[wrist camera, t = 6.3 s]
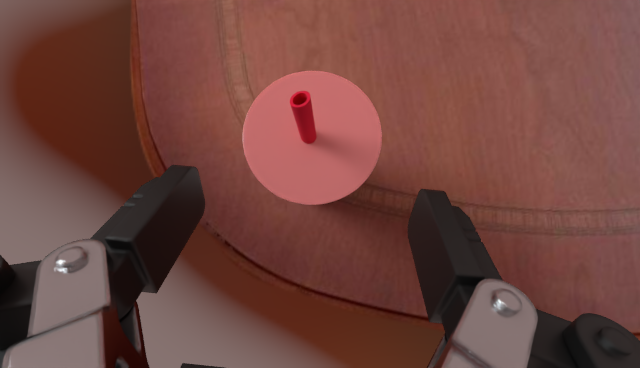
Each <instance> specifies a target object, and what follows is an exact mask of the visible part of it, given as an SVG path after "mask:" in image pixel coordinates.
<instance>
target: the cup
mask: <svg viewBox="0 0 640 368" xmlns="http://www.w3.org/2000/svg"><path fill="white" fill-rule="evenodd" d="M381 144H382V131H381V124H380V120H379V117H378V114H377V112H376V110H375V108H374V106H373V104H372V102H371V101H370V100H369V98H368V97H367V96H366V94H365V93H364V92H363V91H362V90H361V89H360V88H358V87H357V86H356V85H355V84H353V83H352V82H350V81H349V80H347V79H345V78H343V77H341V76H338V75H335V74H332V73H328V72H323V71H303V72H297V73H293V74H290V75H287V76H284V77H282V78H280V79H278V80H276V81H275V82H273V83H272V84H270V85H269V86H268V87H267V88H265V89H264V90H263V91H262V92H261V93H260V94H259V96H258V97H257V98H256V99H255V101H254V102H253V104H252V106H251V107H250V109H249V111H248V114H247V116H246V120H245V123H244V129H243V147H244V153H245V156H246V159H247V162H248V164H249V167H250V169H251V170H252V172H253V174H254V175H255V176H256V178H257V179H258V180H259V181H260V183H261V184H262V185H263V186H265V187H266V188H267V189H268V190H269V191H271V192H272V193H274V194H275V195H277V196H279V197H281V198H283V199H285V200H288V201H291V202H294V203H299V204H307V205H317V204H325V203H330V202H333V201H336V200H339V199H341V198H343V197H345V196H347V195H349V194H351V193H352V192H354V191H355V190H356V189H357V188H359V187H360V186H361V185H362V184H363V183H364V182H365V181H366V180H367V178H368V177H369V176H370V174H371V173H372V171H373V169H374V167H375V165H376V163H377V161H378V158H379V155H380V151H381Z"/></svg>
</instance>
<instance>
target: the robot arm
mask: <svg viewBox="0 0 640 368" xmlns="http://www.w3.org/2000/svg"><path fill="white" fill-rule="evenodd" d="M204 209H205V199H204V194H203V190H202V186H201V181H200V177H199V172H198V170H197V168H196V167H192V166H181V165H172V166H170V167H169V168H168V169H167V170H166V172H165V173H164V174H163V175H162V176H161V177H156V178H154V179H152V180H151V181H149V182H147V183H145V184H144V185H142V186H141V187H140V188H139V189H138V190H137V192H135V193H134V194H133V196H132V198H130V199H128V201H127V202H126V203H125V204H124V206H122V207H121V208H120V209H119V210H118V211H117V212H116V213H115V214H114V215H113V216H112V217H111V218H110V219H109V220H108V221H107V222H106V223H105V224H104V225H103V226H102V227H101V228H100V229H99V230H98V231H97V232H96V233H95V234H94V235H93V237H92V238H91V239H83V240H77V241H73V242H71V243H68V244H65V245H63V246H61V247H59V248H57V249H56V250H54V251H53V252H51V253H50V254H49V255H47V256H46V257H45V258H44V259H43V260H41V261H34V262H27V263H21V264H14V265H9V264H8V263H7V262H6V261H5V260H4V258H2V256H1V255H0V368H149V365H148V362H147V358H146V353H145V346H144V340H143V334H142V328H141V322H140V315H139V309H138V304H137V302H136V300H137V298H138V296H139V295H140V293H141V292H149V293H157V292H158V290H159V288H160V287H161V285H162V283H163V282H164V280H165V278H166V277H167V275H168V273H169V271H170V270H171V268H172V266H173V265H174V263H175V261H176V260H177V258H178V256H179V255H180V253H181V251H182V250H183V248H184V246H185V244H186V243H187V241H188V239H189V238H190V236H191V234H192V233H193V230H194V229H195V228H196V226H197V224H198V223H199V221H200V219H201V218H202V216H203V213H204ZM475 230H476V229H475V227H474V225H473V223H472V221H471V220H470V218H469V217H468V216H467V215H466V214H465V213H464V212H463V211H462V210H461V209H460V208H459V207H456V206H452V205H451V203H450V201H449V199H448V197H447V195H446V193H445V192H444V191H438V190H428V189H421V190H420V191H419V193H418V196H417V199H416V202H415V204H414V207H413V210H412V213H411V216H410V219H409V222H408V239H409V243H410V247H411V251H412V255H413V259H414V263H415V267H416V271H417V275H418V279H419V283H420V287H421V291H422V294H423V298H424V302H425V306H426V310H427V314H428V318H429V322H434V323H443V326H444V330H445V334H444V335H443V337H442V339H441V341H440V343H439V345H438V347H437V349H436V351H435V353H434V354H433V357H432V358H431V360H430V362H429V365H428V366H427V368H640V341H639V340H638V339H637V338H636V337H635V336H634V335H633V334H632V333H631V332H629V331H628V330H627V329H625V328H624V327H622V326H621V325H619V324H618V323H616V322H614V321H612V320H610V319H608V318H606V317H603V316H601V315H597V314H591V313H586V314H582V315H580V316H579V317H578V318H577V319H575V320H574V321H573V322H570V321H567V320H565V319H562V318H559V317H557V316H554V315H551V314H548V313H546V312H543V311H540V310H538V309H535V307H534V305H533V304H532V302H531V301H530V300H529V298H528V297H527V296H526V295H525V294H524V293H523V292H521V291H520V290H519V289H518V288H516V287H514V286H513V285H511V284H509V283H507V282H504V281H503V280H502V278H501V276H500V275H499V273H498V271H497V269H496V267H495V265H494V263H493V261H492V259H491V257H490V256H489V254H488V252H487V250H486V248H485V246H484V244H483V242H481V239H480V237H479V235H478V233H477V232H476V231H475ZM181 368H224V367H214V366H204V365H194V364H185V363H183V364H182V366H181Z"/></svg>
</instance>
